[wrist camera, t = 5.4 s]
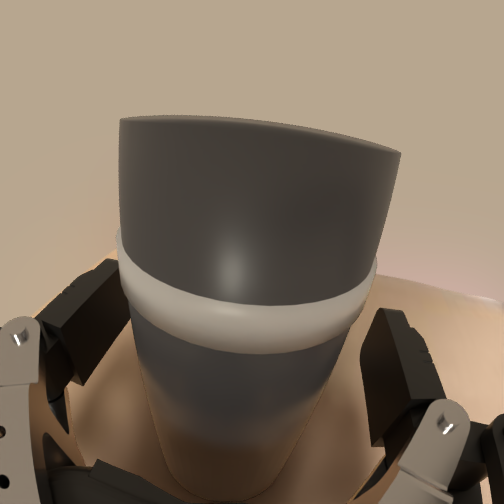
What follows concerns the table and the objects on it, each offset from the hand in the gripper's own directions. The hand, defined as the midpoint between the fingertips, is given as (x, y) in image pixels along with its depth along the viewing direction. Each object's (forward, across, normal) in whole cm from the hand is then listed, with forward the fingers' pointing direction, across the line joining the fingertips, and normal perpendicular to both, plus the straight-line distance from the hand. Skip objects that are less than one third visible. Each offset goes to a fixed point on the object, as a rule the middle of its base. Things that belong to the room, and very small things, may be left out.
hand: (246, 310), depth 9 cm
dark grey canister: (-2, 0, +6) cm, 7 cm away
